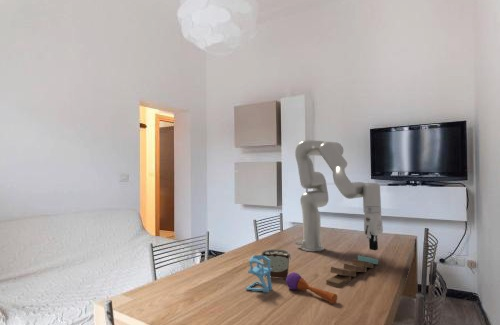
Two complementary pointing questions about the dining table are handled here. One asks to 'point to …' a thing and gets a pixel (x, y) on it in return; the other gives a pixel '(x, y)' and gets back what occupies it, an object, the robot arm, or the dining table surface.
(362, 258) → the teal domino
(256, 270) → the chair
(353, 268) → the domino
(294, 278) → the purple and orange maraca
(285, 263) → the food container
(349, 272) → the domino
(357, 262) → the domino
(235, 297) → the dining table surface
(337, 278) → the domino
